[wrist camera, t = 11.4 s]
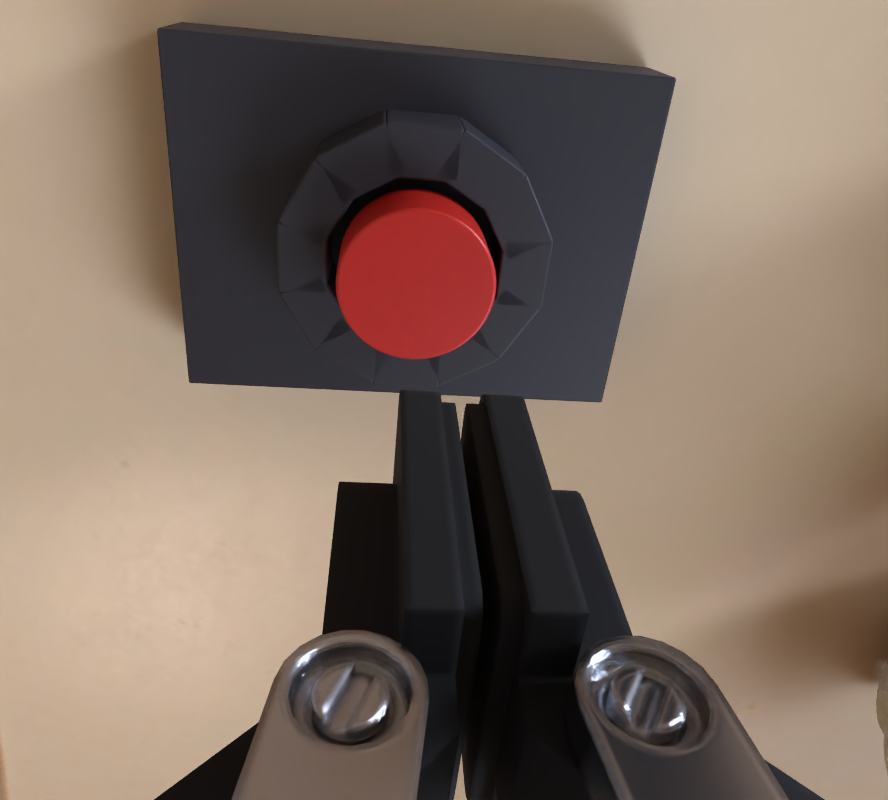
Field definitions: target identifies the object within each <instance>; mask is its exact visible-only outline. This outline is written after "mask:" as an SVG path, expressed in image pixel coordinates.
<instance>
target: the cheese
mask: <svg viewBox="0 0 888 800" xmlns="http://www.w3.org/2000/svg"><path fill="white" fill-rule="evenodd" d="M876 706H877V719H878V723H879V726H880V728H881V730H882V732H883V733H884V756H885V763H886V769H887V774H888V662H887V664H886V666H885V668H884V670H883V672H882V674H881V677H880V680H879V684H878V690H877V700H876Z"/></svg>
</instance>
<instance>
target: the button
mask: <svg viewBox="0 0 888 800" xmlns="http://www.w3.org/2000/svg"><path fill="white" fill-rule="evenodd" d="M336 294H337V300H338V304H339V307H340V310H341V312H342V314H343V316H344V318H345V320H346V322H347V323H348V325H349V326H350V328H351V329H352V330H353V331H354V332H355V333H356V334H357V336H359V337H360V338H361V339H362V340H363V341H364V342H366V343H367V344H368V345H370V346H371V347H373V348H375V349H377V350H379V351H381V352H383V353H385V354H388V355H391V356H395V357H399V358H406V359H425V358H432V357H436V356H440V355H443V354H446V353H448V352H451V351H452V350H454V349H456V348H458V347H460V346H461V345H463V344H464V343H466V342H467V341H468V340H469V339H470V338H471V337H473V336H474V335H475V334H476V333H477V331H478V330H479V329H480V328H481V327H482V325H483V324H484V322H485V321H486V319H487V317H488V315H489V313H490V311H491V308H492V306H493V303H494V298H495V294H496V272H495V267H494V262H493V260H492V257H491V254H490V251H489V249H488V246H487V243H486V241H485V238H484V235H483V232H482V230H481V228H480V226H479V225H478V223H477V221H476V220H475V219H474V217H473V216H472V215H471V214H470V213H469V211H468V210H467V209H466V208H465V207H463V206H462V205H461V204H460V203H458V202H457V201H455V200H454V199H452V198H450V197H448V196H446V195H444V194H441V193H439V192H435V191H432V190H426V189H402V190H397V191H393V192H389V193H387V194H384V195H382V196H380V197H378V198H376V199H374V200H373V201H371V202H370V203H369V204H367V205H366V206H365V207H363V208H362V209H361V210H360V211H359V212H358V213H357V214H356V216H355V217H354V218H353V220H352V221H351V223H350V224H349V226H348V228H347V230H346V232H345V235H344V237H343V240H342V244H341V248H340V254H339V260H338V266H337V272H336Z"/></svg>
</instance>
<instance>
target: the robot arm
mask: <svg viewBox="0 0 888 800" xmlns="http://www.w3.org/2000/svg"><path fill="white" fill-rule="evenodd" d="M461 753H462V762H463V773H464V785H465V793H466V798H467V800H824V799H823V798H821V797H820V796H818V795H817V794H815V793H814V792H812V791H811V790H809V789H808V788H806V787H805V786H803V785H802V784H800V783H799V782H797V781H796V780H794V779H793V778H791V777H790V776H788V775H787V774H785V773H784V772H782V771H781V770H779V769H778V768H776V767H775V766H773V765H772V764H770V763H769V762H767V761H766V760H764V759H763V757H762V756H761V754H760V752H759V751H758V749H757V748H756V746H755V745H754V743H753V741H752V740H751V738H750V737H749V735H748V733H747V732H746V730H745V729H744V727H743V725H742V724H741V722H740V721H739V719H738V717H737V716H736V714H735V713H734V711H733V709H732V708H731V706H730V705H729V703H728V701H727V700H726V698H725V697H724V695H723V693H722V692H721V690H720V689H719V687H718V685H717V684H716V683H715V682H714V680H713V679H712V678H711V677H710V676H709V674H708V673H707V672H706V671H705V669H704V668H703V667H702V666H701V665H699V664H698V663H697V662H695V661H694V660H693V659H692V658H690V657H689V656H688V655H687V654H685V653H684V652H682V651H680V650H678V649H676V648H674V647H672V646H670V645H668V644H666V643H664V642H662V641H658V640H654V639H650V638H646V637H643V636H633V635H632V633H631V630H630V627H629V624H628V621H627V619H626V616H625V613H624V610H623V608H622V605H621V602H620V599H619V597H618V594H617V591H616V588H615V586H614V583H613V580H612V577H611V575H610V572H609V569H608V566H607V563H606V561H605V558H604V555H603V552H602V550H601V547H600V544H599V541H598V539H597V536H596V533H595V530H594V528H593V525H592V522H591V519H590V516H589V514H588V511H587V508H586V505H585V503H584V500H583V498H582V496H581V494H580V493H578V492H577V491H563V490H552V489H551V486H550V482H549V479H548V476H547V473H546V469H545V466H544V463H543V459H542V456H541V453H540V450H539V446H538V443H537V440H536V437H535V433H534V430H533V427H532V424H531V420H530V417H529V414H528V411H527V407H526V404H525V401H524V399H523V396H512V395H492V394H482V396H481V398H480V402H479V404H466V407H465V412H464V419H463V427H462V435H461V439H460V432H459V426H458V419H457V412H456V405H455V403H446V402H441V395H440V392H435V391H415V390H400V395H399V407H398V421H397V434H396V448H395V462H394V476H393V484H385V483H360V482H339V485H338V493H337V502H336V511H335V521H334V530H333V539H332V549H331V558H330V567H329V576H328V586H327V595H326V604H325V614H324V623H323V632H322V635H320V636H318V637H316V638H314V639H312V640H310V641H308V642H307V643H305V644H303V645H301V646H300V647H299V648H297V649H296V650H295V651H294V652H293V653H292V654H291V655H290V656H289V657H288V658H287V659H286V660H285V661H284V662H283V664H282V666H281V668H280V669H279V671H278V673H277V675H276V677H275V678H274V681H273V684H272V686H271V689H270V692H269V695H268V698H267V700H266V703H265V706H264V709H263V712H262V715H261V717H260V720H259V722H258V723H257V724H256V725H254V726H253V727H252V728H250V729H249V730H248V731H246V732H245V733H243V734H242V735H241V736H239V737H238V738H237V739H235V740H234V741H233V742H231V743H230V744H229V745H227V746H226V747H225V748H223V749H222V750H221V751H219V752H218V753H216V754H215V755H214V756H212V757H211V758H210V759H208V760H207V761H206V762H204V763H203V764H202V765H200V766H199V767H198V768H196V769H195V770H194V771H192V772H191V773H189V774H188V775H187V776H185V777H184V778H183V779H181V780H180V781H179V782H177V783H176V784H175V785H173V786H172V787H171V788H169V789H168V790H167V791H165V792H164V793H162V794H161V795H160V796H158V797H157V798H156V799H154V800H453V799H454V795H455V789H456V783H457V777H458V771H459V765H460V759H461Z"/></svg>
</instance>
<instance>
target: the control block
mask: <svg viewBox="0 0 888 800" xmlns="http://www.w3.org/2000/svg"><path fill="white" fill-rule="evenodd" d="M157 34H158V45H159V56H160V67H161V78H162V89H163V100H164V111H165V122H166V133H167V144H168V155H169V166H170V177H171V188H172V199H173V210H174V221H175V232H176V243H177V254H178V266H179V277H180V288H181V299H182V310H183V321H184V332H185V343H186V354H187V365H188V376H189V382H190V383H205V384H226V385H247V386H268V387H289V388H310V389H331V390H352V391H373V392H394V393H400V390H415V391H435V392H440V395H457V396H478V397H481V396H482V394H492V395H512V396H523V399H541V400H562V401H583V402H601V401H602V397H603V393H604V389H605V385H606V380H607V376H608V372H609V367H610V363H611V359H612V354H613V350H614V346H615V341H616V337H617V333H618V328H619V324H620V320H621V315H622V311H623V307H624V302H625V298H626V294H627V289H628V285H629V281H630V276H631V272H632V268H633V263H634V259H635V255H636V250H637V246H638V242H639V237H640V233H641V229H642V225H643V220H644V216H645V212H646V207H647V203H648V199H649V194H650V190H651V186H652V181H653V177H654V173H655V168H656V164H657V160H658V155H659V151H660V147H661V142H662V138H663V134H664V129H665V125H666V121H667V116H668V112H669V108H670V103H671V99H672V95H673V90H674V86H675V82H676V78H674V77H672V76H669V75H666V74H664V73H661V72H658V71H655V70H653V69H650V68H647V67H637V66H627V65H616V64H606V63H596V62H586V61H575V60H565V59H555V58H545V57H534V56H524V55H514V54H503V53H493V52H483V51H473V50H462V49H452V48H442V47H432V46H421V45H411V44H401V43H391V42H380V41H370V40H360V39H350V38H339V37H329V36H319V35H309V34H298V33H288V32H278V31H267V30H257V29H247V28H237V27H226V26H216V25H206V24H196V23H185V22H181V23H177V24H173V25H169V26H165V27H161V28H158V29H157ZM402 189H426V190H432V191H435V192H439V193H441V194H444V195H446V196H448V197H450V198H452V199H454V200H455V201H457V202H458V203H460V204H461V205H462V206H463V207H465V208H466V209H467V210H468V211H469V213H470V214H471V215H472V216H473V217H474V219H475V220H476V221H477V223H478V225H479V226H480V228H481V230H482V232H483V235H484V238H485V241H486V243H487V246H488V249H489V251H490V254H491V257H492V260H493V262H494V267H495V272H496V294H495V298H494V303H493V306H492V308H491V311H490V313H489V315H488V317H487V319H486V321H485V322H484V324H483V325H482V327H481V328H480V329H479V330H478V331H477V333H476V334H475V335H474V336H473V337H471V338H470V339H469V340H468V341H467V342H466V343H464V344H463V345H461V346H460V347H458V348H456V349H454V350H452V351H451V352H448V353H446V354H443V355H440V356H436V357H432V358H425V359H406V358H399V357H395V356H391V355H388V354H385V353H383V352H381V351H379V350H377V349H375V348H373V347H371V346H370V345H368V344H367V343H366V342H364V341H363V340H362V339H361V338H360V337H359V336H357V334H356V333H355V332H354V331H353V330H352V329H351V328H350V326H349V325H348V323H347V322H346V320H345V318H344V316H343V314H342V312H341V310H340V307H339V304H338V300H337V294H336V272H337V266H338V260H339V254H340V248H341V244H342V240H343V237H344V235H345V232H346V230H347V228H348V226H349V224H350V223H351V221H352V220H353V218H354V217H355V216H356V214H357V213H358V212H359V211H360V210H361V209H362V208H363V207H365V206H366V205H367V204H369V203H370V202H371V201H373V200H374V199H376V198H378V197H380V196H382V195H384V194H387V193H389V192H393V191H397V190H402Z"/></svg>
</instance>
